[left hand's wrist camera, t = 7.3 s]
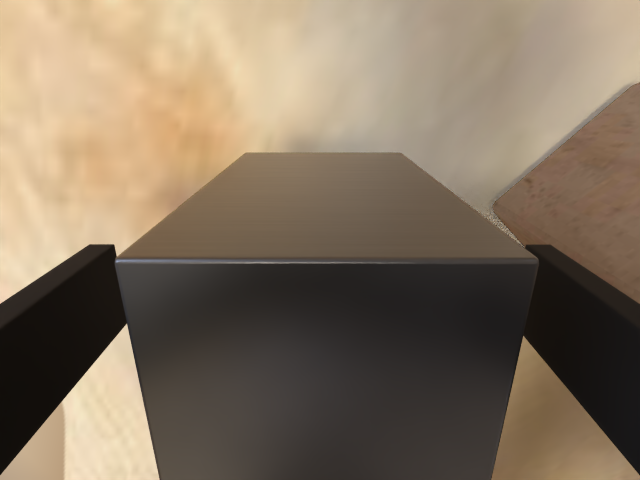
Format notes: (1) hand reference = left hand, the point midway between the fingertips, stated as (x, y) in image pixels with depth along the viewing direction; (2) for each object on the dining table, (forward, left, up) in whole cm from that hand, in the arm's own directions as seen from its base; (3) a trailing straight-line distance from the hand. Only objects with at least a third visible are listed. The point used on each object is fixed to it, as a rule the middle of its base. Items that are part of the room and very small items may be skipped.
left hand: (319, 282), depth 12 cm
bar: (+2, +9, -3) cm, 9 cm away
